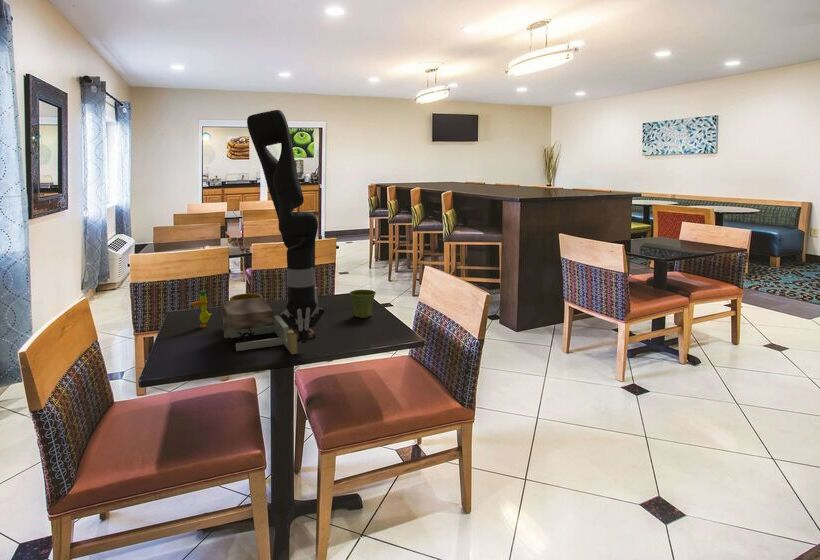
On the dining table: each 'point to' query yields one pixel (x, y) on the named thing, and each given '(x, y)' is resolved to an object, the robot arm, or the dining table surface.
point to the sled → (282, 332)
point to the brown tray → (310, 331)
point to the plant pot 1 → (245, 296)
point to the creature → (243, 337)
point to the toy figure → (202, 308)
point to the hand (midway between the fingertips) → (303, 342)
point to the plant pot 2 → (362, 302)
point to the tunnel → (245, 314)
